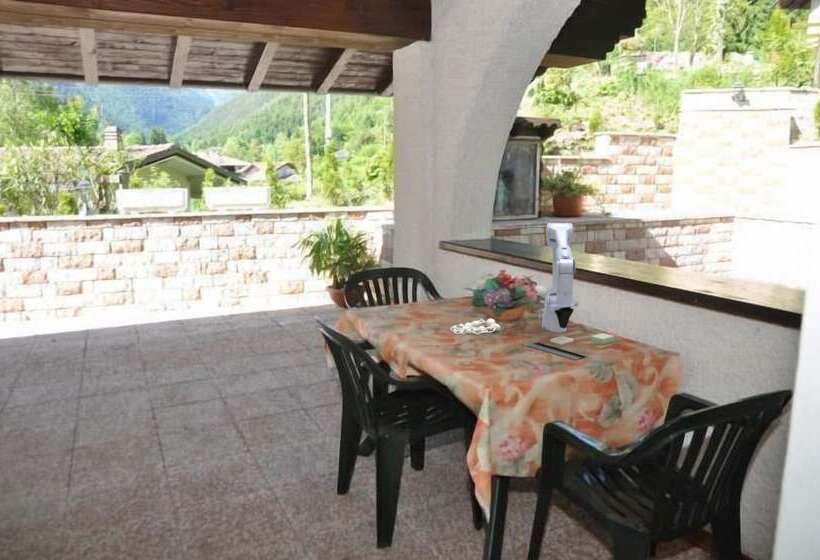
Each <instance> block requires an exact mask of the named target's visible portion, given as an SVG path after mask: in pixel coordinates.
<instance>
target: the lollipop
mask: <svg viewBox="0 0 820 560" xmlns="http://www.w3.org/2000/svg"><path fill="white" fill-rule="evenodd" d="M535 287H536V290H537V292H538V294H539V295H540V296H541V297H542V298H543V299H545V298H546V292H547V290H548V289H547V288H546V287H545V286H542V285H537V286H535ZM540 318H541V308H540V309H539V308H538V320H540Z"/></svg>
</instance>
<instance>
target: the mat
mask: <svg viewBox="0 0 820 560" xmlns="http://www.w3.org/2000/svg"><path fill="white" fill-rule="evenodd" d="M526 346H527V347H529V348H532V349H535V350H539V351H543V352H545V353H547V354H548V353H549V354H553V355H556V356H559V357H561V358H565V359H568V358H569V360H572V359H573V361H575V360H576V361H579V360H582V358H583V359H586V358H588V356H587V355H583V354H579V353H575V352H573V351H570V350H566V349H562V348H558V347H555V346H551V345H547V344H545V343H540V342H533V343H529V344H526ZM585 357H586V358H585ZM578 359H579V360H578Z"/></svg>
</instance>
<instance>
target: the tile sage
mask: <svg viewBox="0 0 820 560" xmlns="http://www.w3.org/2000/svg"><path fill="white" fill-rule="evenodd" d="M614 339H615V335H612V334H608V333H603V332H601V333H597V334H596V335H593V336H591V342H595V343H599V344H605V343H609V342H613V341H614Z"/></svg>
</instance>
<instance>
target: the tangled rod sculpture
mask: <svg viewBox="0 0 820 560" xmlns="http://www.w3.org/2000/svg"><path fill="white" fill-rule="evenodd" d="M482 324H486V326H487V327H485V326H483V325H482ZM449 330H450V331H451V332H453V334H455V335H461V334H462V335H464V334H466V333H467V334H476V335H480V334H485V333H489V334H490V333H493V332H497V331H499V330H501V326H500V325H499V324H498V323H496V320H495V319H493V318H488V319H486V320H485V319H484V318H483V317H481V318H480V319H479V320H472V322H465V323H464V324H463V323H460V324H456V325H453V326H451V328H450V329H449ZM491 330H493V331H491ZM496 330H497V331H496Z"/></svg>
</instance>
